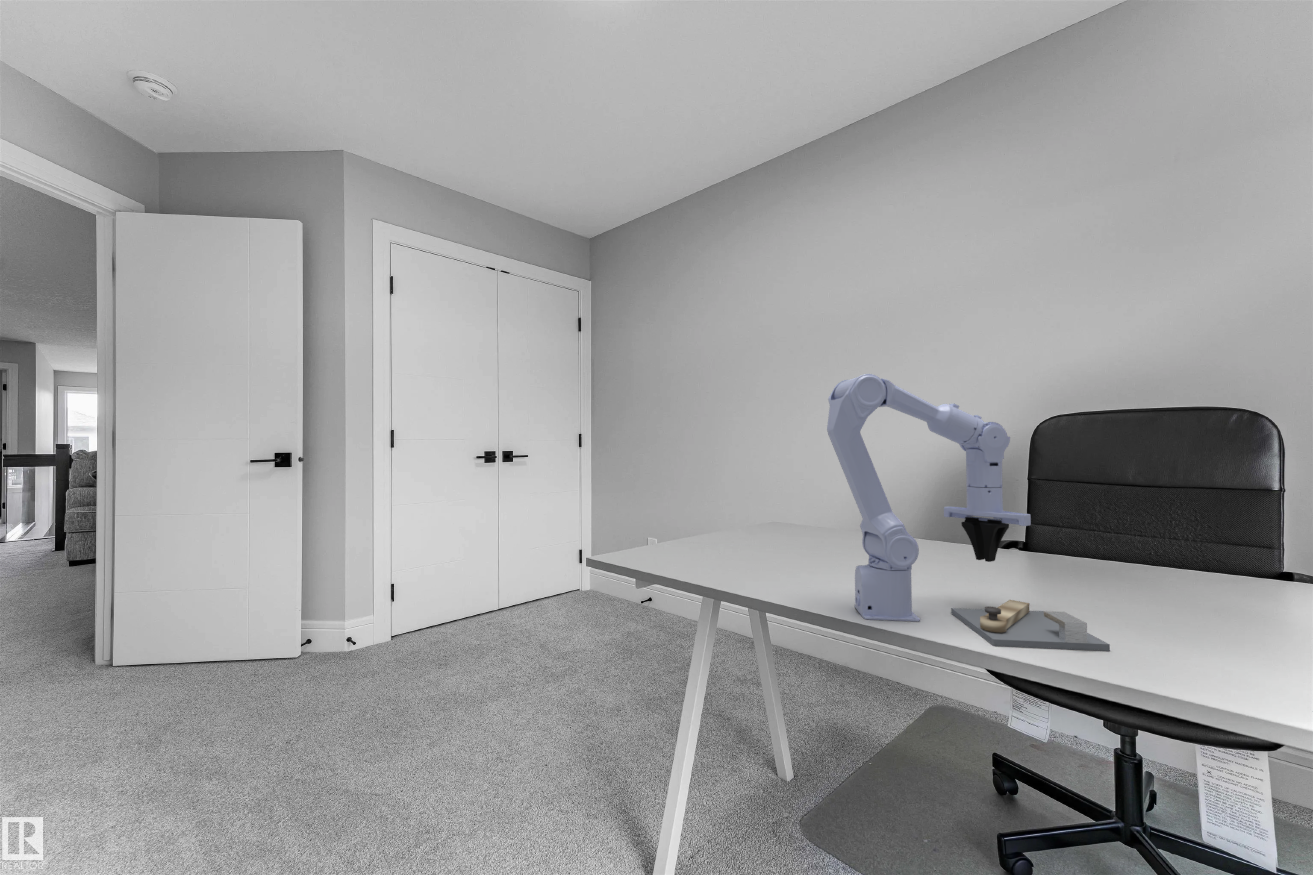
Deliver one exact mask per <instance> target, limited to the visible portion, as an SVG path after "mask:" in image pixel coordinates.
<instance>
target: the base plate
mask: <svg viewBox="0 0 1313 875" xmlns="http://www.w3.org/2000/svg"><path fill="white" fill-rule="evenodd" d="M1044 611H1045V610H1029V612H1028V613H1027V614H1026V615H1024V616H1023V617H1022V618H1020V619H1019V620H1018V621H1017V622H1015V623H1014V624H1013V625H1011V626H1010V627H1009V628H1007V631H1006V632H1001V633H999V632H991V631H987V630H984V629H982V628H981V627H980V617H981V616H985V615H987V614H988V613H986V612H985V608H967V607H966V608H965V607H951V608H950V614H951V615H952V616H954V617H955V618H956V619H957V620H959V621H961V622H962V623H963V624H964V625H966V626H967V627H968V628H969V629H971V630H972V631H973V632H975V633H976V634H977V635H978V636H980V637H981V638H983V640H985V641H987V642H988V643H989V644H991V645H992V646H993V647H1009V648H1028V649H1029V648H1033V649H1036V648H1037V649H1054V650H1055V649H1058V650H1073V651H1074V650H1076V651H1077V650H1079V651H1095V652H1096V651H1100V652H1101V651H1102V652H1110V651H1111V650H1110V649H1111V648H1110V646H1111V644H1110V643H1108V642H1106V641H1104V640H1102V639H1100V638H1099V637H1097V636H1094V635H1093V634H1091V633H1089V632H1087V643H1067V642H1064V641H1062V640H1060V639H1059V624H1057V623H1055V622H1054V621H1052V620H1050V619H1048V618H1046V617H1045V616H1044Z"/></svg>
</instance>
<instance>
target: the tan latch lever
mask: <svg viewBox="0 0 1313 875" xmlns="http://www.w3.org/2000/svg"><path fill="white" fill-rule="evenodd" d="M984 609H985V612H986V613H988V614H987V615H985V616H981V617H980V627H981V628H982V629H984V630H987V631H991V632H999V633H1001V632H1006V631H1007V628H1009V627H1010V626H1011V625H1013V624H1014V623H1015V622H1017V621H1018V620H1019V619H1020V618H1022V617H1023V616H1024V615H1026V614H1027V613H1028V612H1029V611H1030V603H1029V602H1026V601H1020V600H1014V599H1008V600H1006V601H1005V602H1004V603H1002V604H1000V605H998V606H997V607H996V606H985V607H984Z"/></svg>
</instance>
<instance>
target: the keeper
mask: <svg viewBox="0 0 1313 875" xmlns="http://www.w3.org/2000/svg"><path fill="white" fill-rule="evenodd" d="M1043 611H1044V616H1045V617H1046V618H1048V619H1050V620H1052V621H1054V622H1055V623H1057V624H1059V639H1060V640H1062V641H1064V642H1067V643H1087V633H1088V623H1087V622H1085V621H1084V620H1082V619H1080V618H1078V617H1075V616H1074V615H1071V614H1070V613H1067V612H1065V611H1053V610H1052V611H1051V610H1049V611H1048V610H1043Z"/></svg>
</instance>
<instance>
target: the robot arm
mask: <svg viewBox="0 0 1313 875" xmlns="http://www.w3.org/2000/svg"><path fill="white" fill-rule="evenodd" d="M827 400H828V404H829V407H828V408H829V409H828V410H829V411H828V417H827V418H828V419H827V425H826V431H827V434H828V438H829V440H830V442H831V445H832V447H833V450H834V452H835V455H836V457H837V460H838V462H839V465H840V467H841V469H842V472H843V474H844V476H845V479H846V482H847V483H848V486H849V488H850V491H851V494H852V496H853V498H854V501H855V504H856V506H857V508H858V510H859V513H860V515H861V518H862V520H861V523H860V525H859V527H860V530H861V534H862V539H861V540H862V542H861V543H862V548H863V550H864V552H865V553H866V554H867V555H868V561H867V562H868V563H867V564H864V565H858V564H857V566H855V572H854V597H855V598H854V601H855V603H854V608H855V610H857V612H858V613H859V615H860V616H861V617H862V618H863V619H864V620H870V621H871V620H874V621H896V622H897V621H898V622H899V621H901V622H920V621H921V618H920V617H919V616H918V615H917V614H915V612H914V611H913V603H912V602H913V601H912V600H913V598H912V590H913V589H912V587H913V585H912V570H913V569H912V568H913V565H914V564H915V563H916V561H917V560H918V558H919V553H920V549H919V548H920V547H919V544H918V541H917V540H916V539H915V538H914V536H912V535H911V534H910V533H909V532H908V531H907V528H906V527H905V524H904V523H903V522H902V521H901V520H900V518H899V517H898V516H897V515H896V514H895V513H894V512H893V509H892V507H891V505H890V502H889V500H888V497H887V496H886V495H887V494H886V493H885V492H886V491H885V490H884V488H883V485H882V482H881V481H880V477H879V476H878V473H877V471H876V468H875V466H874V463H873V461H872V458H871V456H870V453H869V451H868V448H867V446H866V444H865V440H864V439H863V436H862V434H861V430H862V429H863V427H864V425H865V423H866V422H867V419H868V417H870V416H871V415H872V414H873V412H876V410H877V409H878V408H884V407H887V408H890V409H893V410H895V411H898V412H900V413H903V414H905V415H908V416H911V417H913V418H915V419H918V420H920V421H923V422H926V425H927V427H928V430H929V431H930V432H932V433H934V434H935V435H937V436H940V437H943V438H945V439H947V440H950V441H951V442H954V443H955V444H958V445H959V447H960V448H961V450H963V451H964V452H965V468H966V469H965V471H966V472H965V473H966V475H965V476H966V507H962V506H961V507H960V506H944V507H943V517H944V518H956V519H964V521H962V522H961V527H962V529H963V530H964V531H965V534H966V535H967V537H968V539H969V541H970V543H971V546H972V550H973V553H974V557H975V560H976V561H977V560H978V561H983V560H984V561H985V562H989V563H992V562H995V561H996V558H997V554H998V549H999V546H1000V545H1001V542H1002V539H1003V538H1004V535H1005V534H1006V532H1007V531H1008V530H1009V528H1010V525H1018V526H1022V527H1028V526H1031V525H1032V524H1031V522H1032V521H1031V520H1032V518H1031V514H1030V513H1022V512H1014V511H1009V510H1004V501H1003V497H1004V496H1003V495H1004V494H1003V491H1004V490H1003V488H1004V487H1003V460H1005V451H1006V450H1007V448H1008V447H1009V445H1010V443H1011V437H1010V436H1008V433H1007V430H1006V429H1005V428H1004V427H1003V425H1001V424H1000V423H998V422H996V421H987V422H986V421H985V422H984V420H983V418H982V416H980V415H978V414H974V415H973V414H970V413H969V412H967V411H964V410H962V409H959V408H960V405H958V404H956V403H952V402H951V403H943V404H940V405H934V404H933V403H931V402H930V401H927V400H925V399H923V398H921V397H920V396H917V395H916V394H914V393H912V392H909V391H908V390H906V389H904V388H901V387H900V386H898V385H896V384H894V383H893V382H892V381H890V380H889V379H887V378H880V377H879V376H878V375H876V374H872V373H865V374H864V373H863V374H860V375H859V376H856V377H854V378H851V379H844V380H841V381H840V382H838V383H837V384H836V385H835V386H834V388H833V390H832V391H831V393H830V394H829V396H828V398H827Z"/></svg>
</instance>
